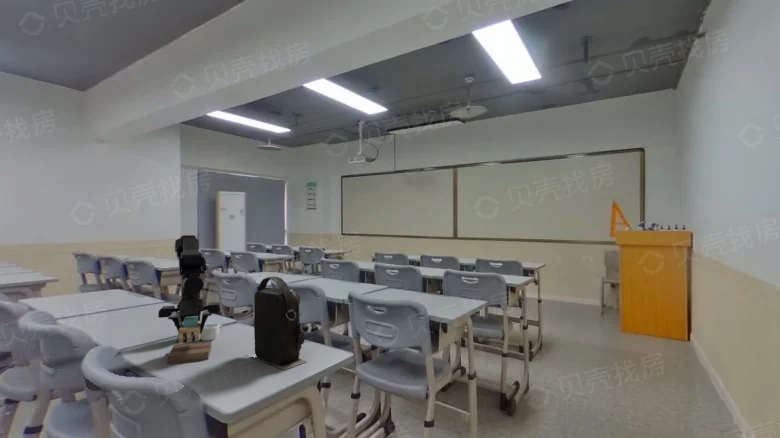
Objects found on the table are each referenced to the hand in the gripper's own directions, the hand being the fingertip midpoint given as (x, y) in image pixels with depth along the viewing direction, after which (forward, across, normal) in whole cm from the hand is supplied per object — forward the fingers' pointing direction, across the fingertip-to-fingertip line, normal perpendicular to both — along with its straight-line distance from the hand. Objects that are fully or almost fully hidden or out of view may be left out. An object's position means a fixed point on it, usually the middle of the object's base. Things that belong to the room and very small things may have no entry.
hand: (190, 334), depth 126 cm
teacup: (+8, +5, +18) cm, 21 cm away
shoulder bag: (+8, +27, -15) cm, 32 cm away
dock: (+7, 0, 0) cm, 7 cm away
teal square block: (-3, 0, 0) cm, 3 cm away
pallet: (+1, 0, 0) cm, 1 cm away
